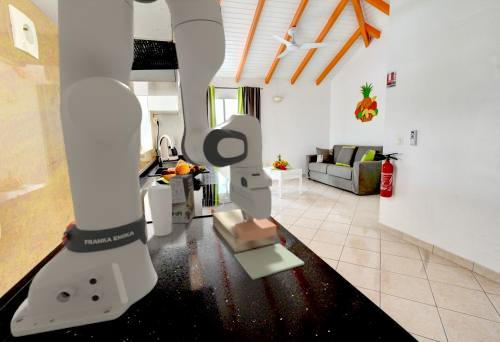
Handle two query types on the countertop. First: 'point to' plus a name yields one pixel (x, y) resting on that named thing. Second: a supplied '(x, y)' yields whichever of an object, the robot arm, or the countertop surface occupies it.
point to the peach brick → (255, 229)
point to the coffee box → (182, 198)
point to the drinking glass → (161, 209)
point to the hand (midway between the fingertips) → (248, 225)
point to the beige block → (227, 230)
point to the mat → (267, 260)
